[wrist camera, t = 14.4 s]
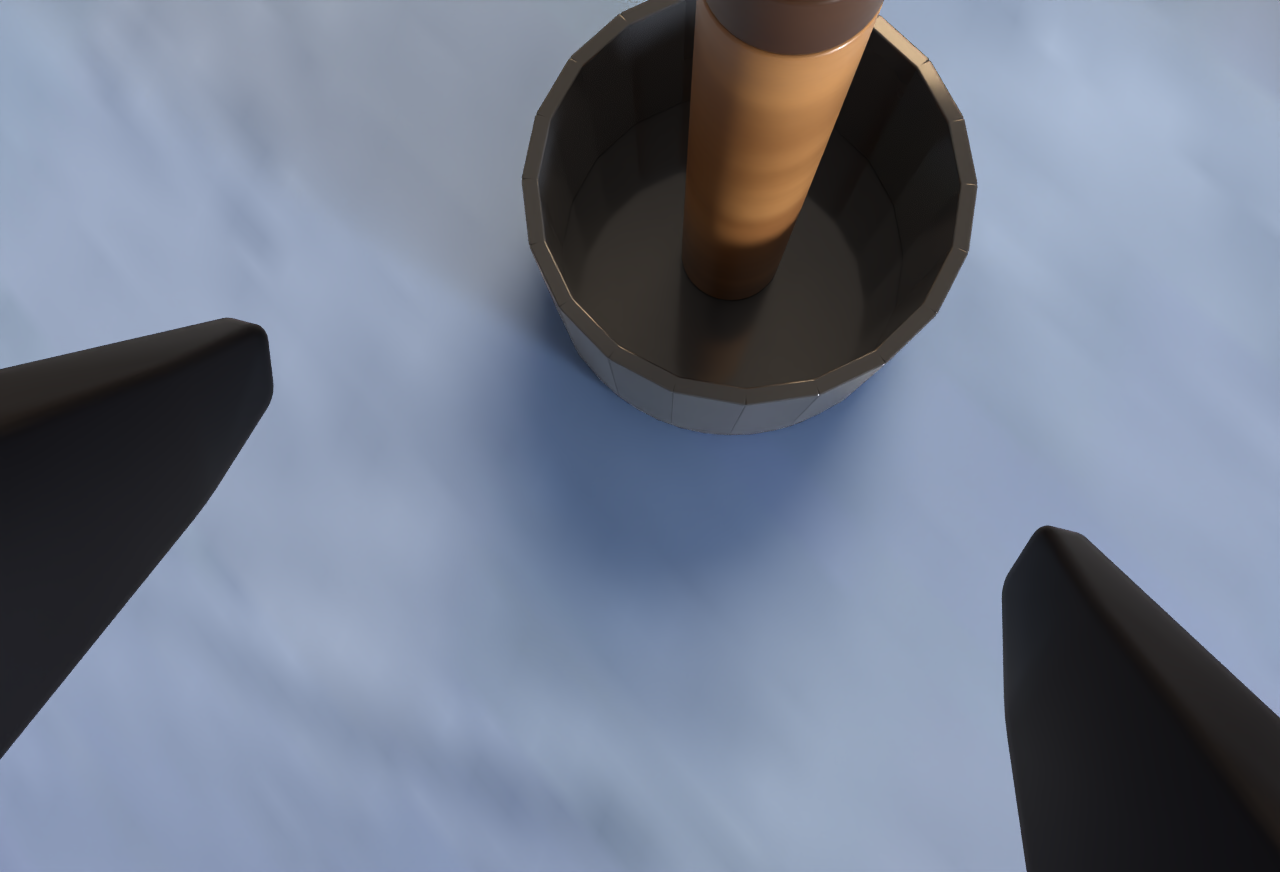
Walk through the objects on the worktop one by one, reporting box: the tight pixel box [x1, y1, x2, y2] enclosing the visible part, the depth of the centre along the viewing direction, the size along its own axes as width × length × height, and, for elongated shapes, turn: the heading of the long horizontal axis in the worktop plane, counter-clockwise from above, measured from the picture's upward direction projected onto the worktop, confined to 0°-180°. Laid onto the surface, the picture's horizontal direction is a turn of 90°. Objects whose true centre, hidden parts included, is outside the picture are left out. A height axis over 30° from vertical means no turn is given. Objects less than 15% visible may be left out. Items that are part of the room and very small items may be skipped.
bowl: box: [522, 0, 977, 435], centre depth 21 cm, size 10×10×5 cm
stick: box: [682, 0, 884, 300], centre depth 17 cm, size 3×3×12 cm
